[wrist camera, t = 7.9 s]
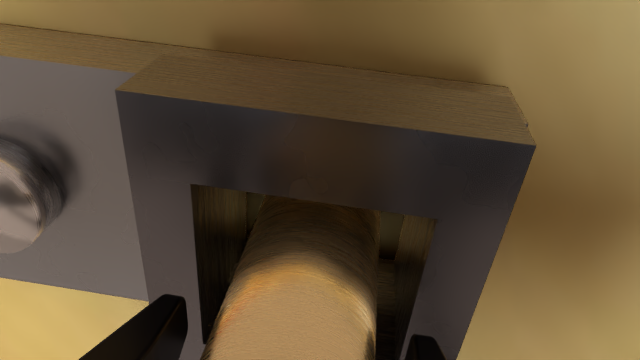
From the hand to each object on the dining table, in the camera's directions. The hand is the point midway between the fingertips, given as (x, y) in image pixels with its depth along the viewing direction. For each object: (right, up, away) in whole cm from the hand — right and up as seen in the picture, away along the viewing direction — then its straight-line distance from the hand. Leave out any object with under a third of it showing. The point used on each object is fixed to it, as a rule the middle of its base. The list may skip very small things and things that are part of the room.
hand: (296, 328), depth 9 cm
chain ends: (-6, +1, +6) cm, 9 cm away
